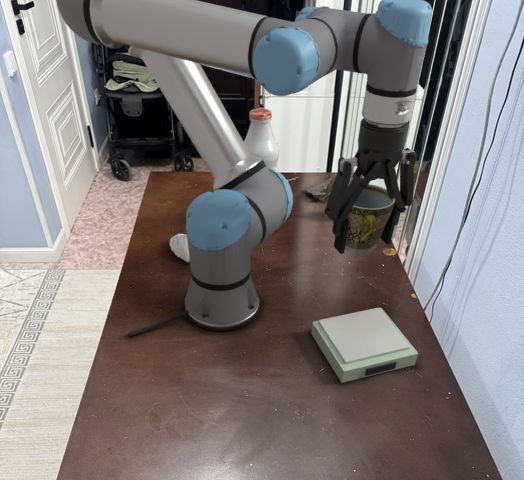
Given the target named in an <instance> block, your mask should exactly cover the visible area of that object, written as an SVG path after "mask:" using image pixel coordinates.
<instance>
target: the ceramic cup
mask: <svg viewBox="0 0 524 480" xmlns="http://www.w3.org/2000/svg"><path fill="white" fill-rule="evenodd" d="M348 186H349V184H348ZM347 188H348V187H347ZM394 204H395V199H394V198H393V199H391V198H389V196H388V193H387V189H386V187H382V186H380V185H377V184H371V183H369V184H368V186H367V187H364V189H363V191H362V192H361V194H360V196H359V197H358V199H357V201H356V202H355V204H354V206H353V207H352V209H351V211H350V212H349V214H348V216H347V217H346V219H347V220H348V221H349V225H348V232H347V238H346V245H345V251H347V252H350V253H351V254H354V255H368V254H370V253H371V252H373V251H374V250H375V249H376V248H377V246H378V244H379V242H380V240H381V238H380V237H381V235H382V232H383V230H384V228H385V225H386V223H387V221H388V219H389V217H390V214H391V212H392V209H393V207H394Z"/></svg>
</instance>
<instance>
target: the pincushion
mask: <svg viewBox="0 0 524 480" xmlns="http://www.w3.org/2000/svg"><path fill="white" fill-rule="evenodd" d="M171 233H172V234H173V235H172V237H171V238H170V239H169V247H170V249H171V251H172V252H173V253H174V255H175V256H176V257H177V258H180V259H181V260H184V261H185V262H187V263H190V258H189V249H188V239H187V235H186V233H185V234H184V233H181V230H179V233H177V234H175V231H174V230H171Z"/></svg>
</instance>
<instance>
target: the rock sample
mask: <svg viewBox="0 0 524 480" xmlns="http://www.w3.org/2000/svg"><path fill="white" fill-rule="evenodd" d="M336 175H337V173H334V175H332V176H331V177H330V178H328V179H327V180H325V181H320V182H319V183H316V184H314V185H311V186H309V188H307V189H306V190H305V193H307V194H308V195H311V196H313V198H315V199H316V200H319V201H323V200H324V199H325V198H327V197H329V196H330V193H331V190H332V187H333V184H334V181H335V178H336Z"/></svg>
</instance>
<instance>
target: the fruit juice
mask: <svg viewBox="0 0 524 480" xmlns="http://www.w3.org/2000/svg"><path fill="white" fill-rule="evenodd" d="M272 115H273V113H272V110H270V109H268V108H263V107H261V108H260V107H259V108H253V109H251V110H250V111H249V115H248V117H249V121H250V123H249V128H248V131H247V134H246V136H245V138H244V140H243V142H244V144H245V145H246V147H247V149H248V151H249V152H250V154H251V155H253V156H256V157H260V158H262V159H263V161H264V163H265V165H266V167H267V168H270V169H274V170H275V172H279V173H280V171H279V167H278V162H279V159H280V146H279V143H278V142H277V140H276V138H275V135H274V132H273V128H272V124H271V121H272V117H273V116H272Z"/></svg>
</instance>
